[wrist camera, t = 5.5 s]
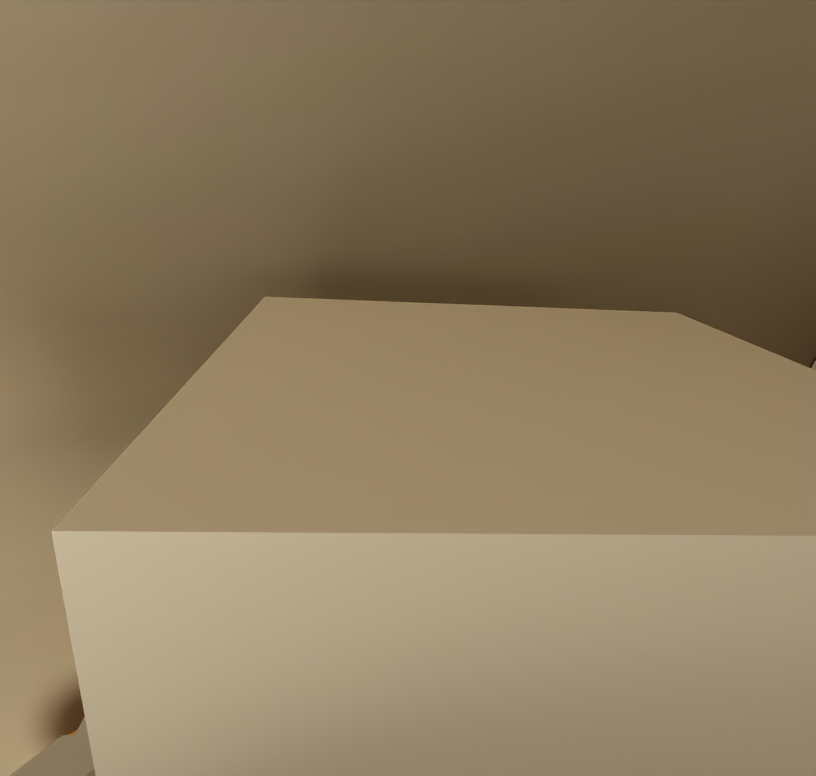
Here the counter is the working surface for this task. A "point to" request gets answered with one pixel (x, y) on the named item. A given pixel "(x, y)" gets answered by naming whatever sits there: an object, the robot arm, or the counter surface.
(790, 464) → the matte white cuboid
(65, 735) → the robot arm
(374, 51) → the counter surface
